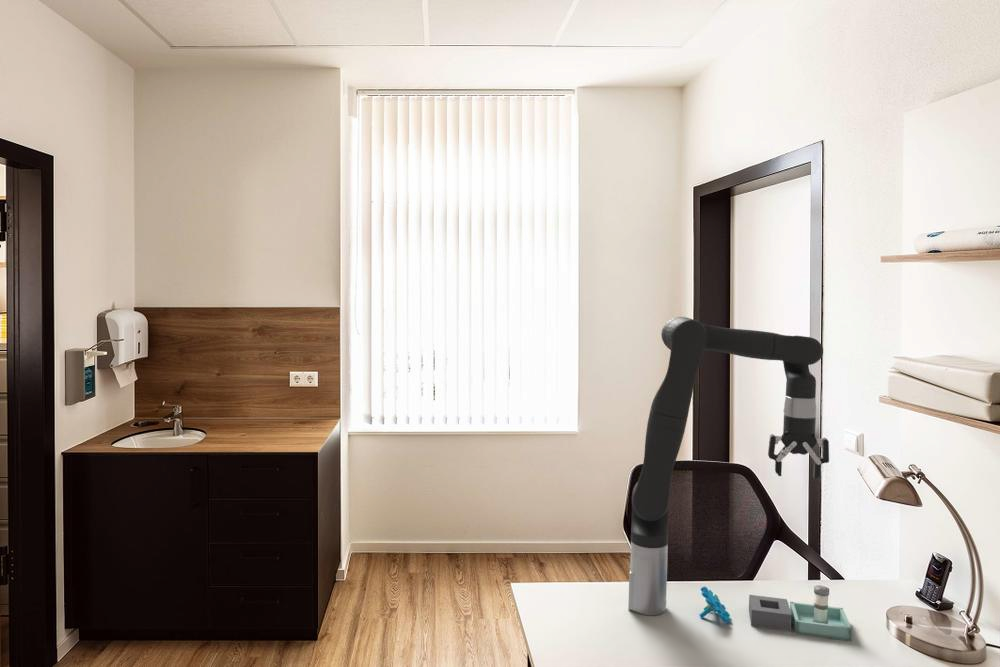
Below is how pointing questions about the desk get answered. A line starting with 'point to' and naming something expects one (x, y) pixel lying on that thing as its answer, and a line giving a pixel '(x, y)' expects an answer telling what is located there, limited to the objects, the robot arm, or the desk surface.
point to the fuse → (821, 604)
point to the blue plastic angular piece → (714, 605)
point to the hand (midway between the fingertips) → (797, 476)
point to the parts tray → (805, 625)
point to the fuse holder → (769, 612)
